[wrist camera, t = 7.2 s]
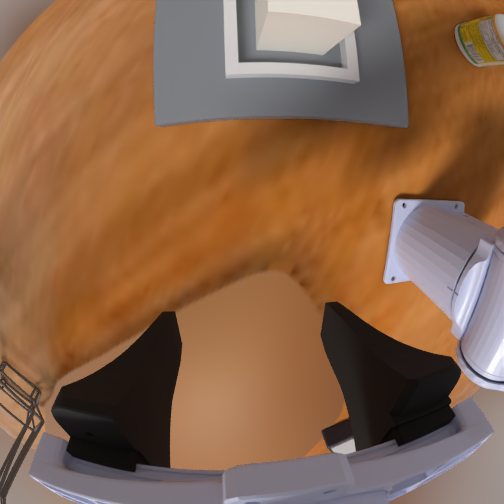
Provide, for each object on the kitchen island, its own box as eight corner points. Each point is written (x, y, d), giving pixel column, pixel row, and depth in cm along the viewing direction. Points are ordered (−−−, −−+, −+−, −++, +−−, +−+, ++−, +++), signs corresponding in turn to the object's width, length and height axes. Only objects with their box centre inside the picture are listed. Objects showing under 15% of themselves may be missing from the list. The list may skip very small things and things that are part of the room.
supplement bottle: (457, 58, 15) (526, 49, 6) (448, 16, 13) (509, -1, 4) (486, 73, 15) (549, 73, 6) (478, 34, 13) (536, 26, 4)
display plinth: (377, -10, 13) (392, -22, 10) (394, 127, 18) (415, 127, 15) (164, -21, 12) (157, -39, 9) (162, 127, 17) (150, 124, 14)
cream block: (318, 5, 12) (349, -34, 7) (323, 55, 14) (360, 25, 9) (254, -1, 12) (264, -48, 6) (256, 50, 14) (268, 11, 8)
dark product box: (417, 426, 33) (342, 466, 34) (407, 410, 37) (335, 448, 38) (419, 403, 29) (327, 451, 30) (406, 384, 33) (320, 430, 34)
